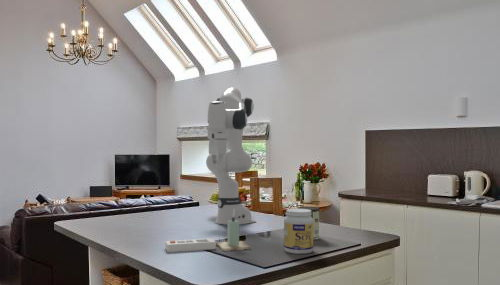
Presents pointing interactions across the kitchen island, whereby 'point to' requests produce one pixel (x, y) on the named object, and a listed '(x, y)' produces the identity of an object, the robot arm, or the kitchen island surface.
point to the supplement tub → (298, 231)
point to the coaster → (226, 247)
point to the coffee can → (316, 220)
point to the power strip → (190, 245)
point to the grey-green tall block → (233, 232)
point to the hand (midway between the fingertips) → (216, 164)
